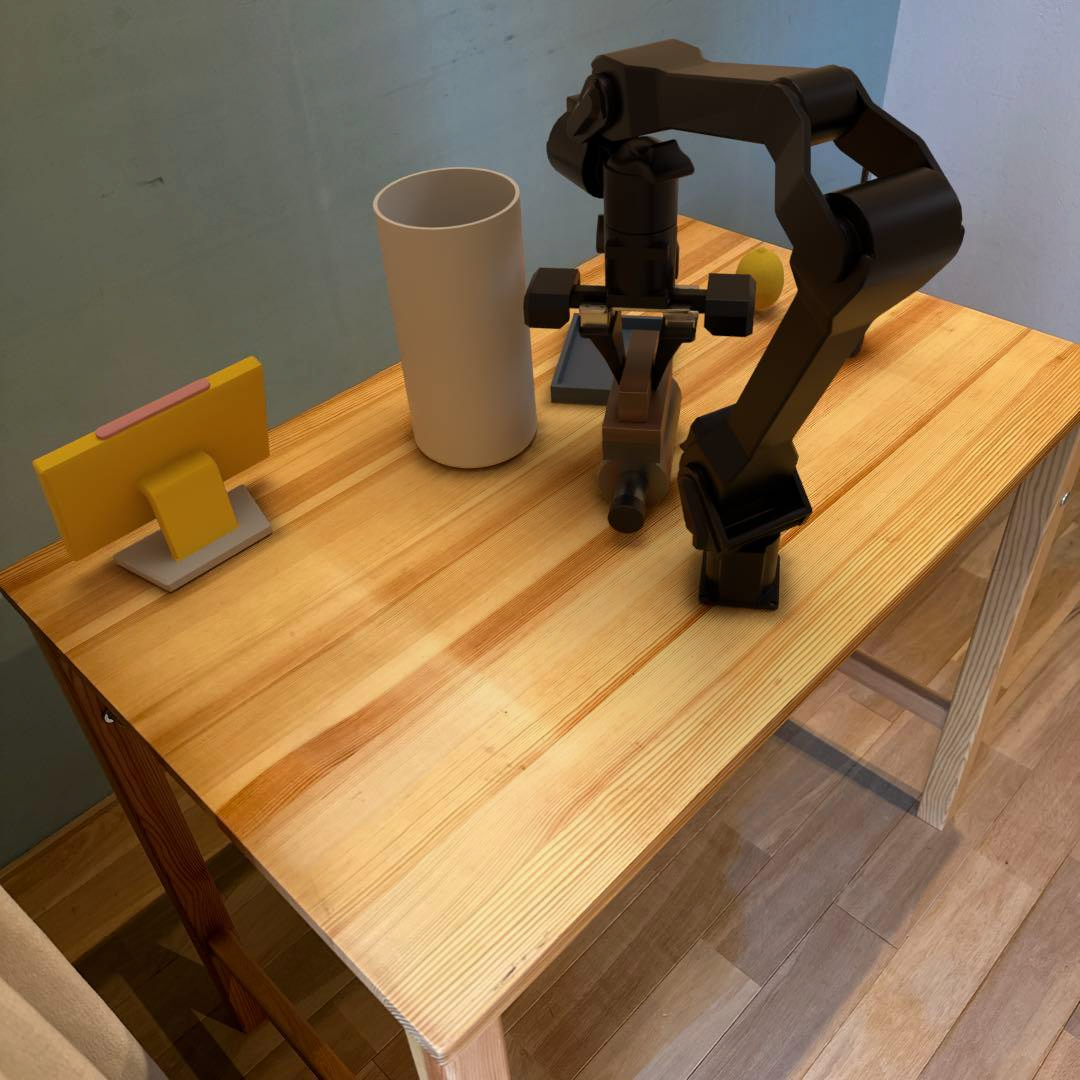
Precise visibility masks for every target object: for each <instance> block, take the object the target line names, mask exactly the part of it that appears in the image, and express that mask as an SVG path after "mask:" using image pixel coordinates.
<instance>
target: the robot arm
mask: <svg viewBox="0 0 1080 1080" xmlns="http://www.w3.org/2000/svg"><path fill="white" fill-rule="evenodd" d="M590 66H591V67H590V68H591V69H592V70H591V74H589V75H588V76H587V77H586V79H585V80H584V83H583V86H582V88H581V90H580V93H577V94H572V95H569V96H567V97H566V99H565V103H566V111H565V112H564V113H563V114H562V115H560V116H559V117H558V118H557V120H556V121H555V122H554V124H553V125H552V128H551V130H550V132H549V134H548V135H549V136H548V140H547V141H546V145H545V147H546V149H545V150H546V156H547V160H548V162H549V164H550V166H551V167H552V168H553V170H555V171H556V172H557V173H558V174H559V175H561V176H563V177H564V178H566V179H567V180H568V181H570V182H571V183H573V184H574V185H575V186H576V187H578V188H579V189H581V190H583V191H584V192H585V193H586V194H588V195H590V196H591V197H593V198H596V199H601V200H603V213H599V214H597V222H596V232H595V233H596V234H595V252H596V253H597V254H604V285H599V284H598V285H597V284H596V285H595V284H581V272H580V270H579V268H570V267H569V268H567V267H538V269H536V271H535V272H534V273H533V274H532V276H531V279H530V281H529V283H528V285H527V291H526V294H525V296H524V304H523V311H524V324H525V325H526V326H528V327H529V328H530V329H546V330H561V329H562V328H563V327H565V325H566V324H568V323H569V322H570V321H571V309H573V310H578V313H580V315H581V323H580V326H579V330H578V333H579V336H580V337H581V338H588V339H590V340H591V341H592V343H593V344H594V345H595V347H596V348H597V349H598V351H599V352H600V353H601V355H602V356H603V358H604V359H605V361H606V362H607V364H608V366H609V368H610V370H611V372H612V373H613V375H614V377H615V379H616V381H617V383H618V385H619V387H620V382H621V378H622V373H623V369H624V364H625V360H626V357H625V349H624V341H623V332H622V321H621V315H622V312H639V313H662V317H663V318H662V323H661V329H660V334H659V340H658V345H657V351H656V357H655V362H654V368H653V373H652V391H656V390H657V388H658V386H659V383H660V381H661V379H662V377H663V374H664V372H665V370H666V368H667V366H668V364H669V362H670V360H671V359H672V357H673V358H674V356H675V354H676V353H677V351H678V350H679V349H680V347H681V345H682V344H691V343H693V342H694V341H695V340H696V335H697V329H698V328H697V327H698V323H699V322H698V321H699V318H700V315H704V316H703V328H704V329H705V330H706V331H707V332H708V333H709V334H710V335H711V336H712V337H727V338H728V337H730V338H747V337H749V336H752V335H753V333H754V323H755V314H756V312H755V299H756V281H755V280H754V279H753V277H752V276H751V275H750V274H736V273H719V272H717V273H716V272H709V273H708V278H707V285H706V288H700V285H697V284H676V280H678V279H679V278H678V277H679V274H680V273H679V270H680V244H679V241H678V232H679V231H678V230H679V226H678V213H679V211H678V209H679V181H680V179H682V178H685V177H688V176H692V175H694V173H695V169H696V168H695V166H694V164H693V162H692V160H691V158H690V156H689V155H687V154H686V153H685V152H684V151H683V150H682V149H681V147H680V145H679V143H678V140H677V139H676V138H672V139H668V140H664V141H663V140H661V139H659V138H657V137H655V136H652V134H657V133H661V132H665V131H670V130H673V131H680V132H685V133H691V134H696V135H697V134H698V135H702V136H708V137H709V136H710V137H716V138H722V139H727V140H728V139H729V140H733V141H739V142H740V141H741V142H747V143H751V144H758V145H764V147H765V149H766V151H767V152H768V154H769V155H770V158H771V160H772V161H773V163H774V213H775V217H776V220H777V221H778V222H779V225H780V226H781V228H782V230H783V231H784V233H785V235H786V237H787V239H788V241H789V242H790V244H791V246H792V250H791V254H790V257H789V261H788V264H789V267H790V270H791V273H792V277H793V279H794V282H795V286H796V289H797V291H796V293H795V296H794V297H793V299H792V301H791V303H790V305H789V306H788V308H787V310H786V312H785V313H784V316H783V317H782V320H781V321H780V323H779V324H778V327H777V328H776V330H775V332H774V334H773V335H772V337H771V339H770V341H769V343H768V345H767V346H766V348H765V350H764V352H763V353H762V355H761V357H760V359H759V361H758V363H757V364H756V366H755V368H754V370H753V371H752V373H751V375H750V376H749V379H748V380H747V382H746V384H745V386H744V388H743V390H742V391H741V393H740V395H739V397H738V399H736V401H735V403H733V404H729V405H727V406H725V407H721V408H719V409H716V410H713V411H710V412H708V413H705V414H703V415H699V416H697V417H696V418H695V419H694V421H692V423H691V424H690V426H689V429H688V434H687V436H686V438H685V440H684V441H683V442H681V443H679V444H678V446H679V449H680V450H681V451H683V452H682V453H681V456H680V458H679V462H678V471H677V477H676V481H677V487H678V493H679V499H680V504H681V510H682V516H683V521H684V524H685V528H686V530H688V532H689V533H690V534H691V535H692V539H691V542H692V543H691V545H692V546H693V548H695V550H698V551H702V557H701V558H702V559H701V565H700V566H701V567H700V577H699V586H698V596H697V598H698V599H697V600H698V603H699V604H701V605H707V606H718V607H729V608H738V609H739V608H740V609H750V610H761V611H777V610H779V607H780V581H781V580H780V579H781V578H780V577H781V556H780V555H779V550H780V544H781V543H780V542H781V536H782V533H784V532H786V531H789V530H790V529H793V528H795V527H801V526H803V525H805V524H806V523H807V522H808V520H809V519H810V517H811V516H812V514H813V512H814V511H813V507H812V504H811V502H810V499H809V497H808V494H807V492H806V489H805V487H804V484H803V481H802V479H801V477H800V474H799V472H798V469H797V464H798V461H799V458H800V455H799V452H798V451H797V448H796V446H795V444H794V441H793V440H794V438H795V437H796V435H797V434H798V432H799V431H800V429H801V427H803V425H804V423H805V422H806V421H807V419H808V417H809V416H810V414H811V413H812V411H813V410H814V409H815V407H816V406H817V404H818V403H819V402H820V400H821V399H822V397H823V396H824V394H825V393H826V392H827V390H828V388H829V387H830V386H831V384H832V382H833V381H834V379H835V378H836V376H837V375H838V374H839V372H840V371H841V369H842V368H843V367H844V365H845V363H846V362H847V360H848V359H849V358H848V357H849V356H850V354H851V353H852V352H853V350H854V349H855V347H856V346H857V344H858V343H859V341H860V340H861V338H862V337H863V335H864V334H865V335H866V333H867V331H868V330H869V329H870V327H871V325H872V324H873V322H874V321H875V320H876V319H878V318H879V317H880V316H882V315H883V314H885V313H887V312H888V311H890V310H891V309H892V308H894V307H895V306H897V305H898V304H900V303H901V302H903V301H905V300H906V299H907V298H909V297H911V296H912V295H913V294H915V293H916V292H918V291H919V290H921V289H922V288H923V287H924V286H925V285H926V284H927V283H929V282H930V281H931V280H932V279H933V278H934V277H935V276H936V275H938V274H939V273H940V272H941V271H942V270H943V269H944V268H945V267H946V266H947V265H948V264H950V262H952V260H954V258H955V257H956V256H957V255H958V253H959V250H960V249H961V247H962V244H963V242H964V237H965V235H966V234H965V233H966V228H965V226H964V225H963V209H962V207H963V206H962V204H961V202H960V199H959V197H958V194H957V192H956V191H955V190H954V188H953V186H952V184H951V182H950V181H949V179H948V178H947V176H946V174H945V172H944V171H943V169H942V168H941V166H940V164H939V163H938V161H937V160H936V158H935V156H934V154H933V153H932V151H931V150H930V148H929V146H928V145H927V143H926V141H925V140H924V138H922V137H921V136H920V135H919V134H917V133H916V132H915V131H913V130H912V129H911V128H909V127H908V126H906V125H905V124H904V123H902V122H901V121H899V119H897V118H896V117H894V116H893V115H892V114H890V113H889V112H887V111H886V110H884V108H882V107H880V106H879V105H878V104H877V103H875V102H874V101H873V99H872V98H871V96H870V94H869V93H868V91H867V89H866V88H865V86H864V85H863V83H862V81H861V79H860V78H859V76H858V75H857V73H855V72H854V71H853V69H851V68H848V67H846V66H839V65H837V64H826V65H823V66H819V67H804V66H788V65H786V66H785V65H772V64H755V63H739V62H737V63H736V62H725V61H724V62H721V61H711V60H708V59H707V58H704V53H703V50H701V49H700V48H699V47H698V46H696V45H692V44H690V43H687V42H684V41H682V40H679V39H676V38H668V39H664V40H659V41H655V42H650V43H646V44H641V45H637V46H633V47H628V48H625V49H620V50H616V51H611V52H606V53H601V54H598V55H596V56H595V57H594V58H593V59H592V60H591V62H590ZM828 142H833V144H834V146H835V147H836V148H837V149H838V150H839V151H840V152H841V153H843V154H844V155H846V156H847V157H848V158H849V159H850V160H852V161H853V162H855V163H856V164H858V165H859V166H861V167H862V168H865V169H866V170H868V171H869V174H871V175H873V176H874V177H876V178H873V179H870V180H869V179H868V181H866V182H863V183H860V182H859V183H856V184H853V185H849V186H846V187H843V188H840V189H837V190H833V191H830V192H826V193H824V194H823V192H822V190H821V188H820V187H819V185H818V183H817V181H816V179H815V178H814V177H813V174H812V147H814V146H818V145H822V144H825V143H828Z"/></svg>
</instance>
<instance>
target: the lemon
mask: <svg viewBox="0 0 1080 1080" xmlns="http://www.w3.org/2000/svg"><path fill="white" fill-rule="evenodd" d="M736 267H737V268H736V270H735V274H750V275H751V276H752V277H753V279H754V280H755V281H756V299H755V313H759V312H761V311H764V310H766V309H769V308H770V307H772V306H773V305H774V304H775V303H776V302H777V301H778V300H779V299H780V296H781V295H782V292H783V290H784V286H785V271H784V265H783V262H782V260H781V259H780V256H778V254H777V253H775V251H772V250H771V249H768V248H767V247H765V246H760V247H757V248H754V249H752V250H750V251H749V252H747V253H746V254H744V255H743V256H742V258H741V259H740V260H739V262H738V264H737V266H736Z"/></svg>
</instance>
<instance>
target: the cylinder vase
mask: <svg viewBox="0 0 1080 1080" xmlns="http://www.w3.org/2000/svg"><path fill="white" fill-rule="evenodd" d="M372 204H373V205H372V207H373V212H374V218H375V223H376V229H377V235H378V241H379V246H380V247H379V248H380V252H381V258H382V264H383V269H384V274H385V280H386V285H387V286H386V287H387V291H388V296H389V302H390V307H391V314H392V319H393V326H394V330H395V331H394V332H395V336H396V340H397V342H396V343H397V347H398V353H399V358H400V365H401V370H402V375H403V381H404V387H405V392H406V397H407V404H408V408H409V414H410V421H411V424H412V425H411V426H412V431H413V437H414V440H415V443H416V445H417V447H418V449H419V450H420V452H422V453H423V454H424V455H425V456H427V458H429V459H430V460H432V461H434V462H435V463H439V464H441V465H444V466H448V467H453V468H457V469H458V468H459V469H479V468H480V469H481V468H487V467H491V466H495V465H498V464H501V463H503V462H506V461H509V460H511V459H512V458H515V457H516V456H517V455H519V454H521V453H522V452H524V450H525V449H527V447H528V446H529V445H530V444H531V442H532V441H533V439H534V437H535V434H536V432H537V428H538V417H537V404H536V403H537V402H536V391H535V390H536V389H535V380H534V379H535V378H534V365H533V364H534V363H533V352H532V351H533V350H532V338H531V337H532V336H531V328H529V327H528V326H526V325H525V324H524V311H523V304H524V296H525V294H526V291H527V288H528V285H527V273H526V272H527V271H526V259H525V258H526V257H525V246H524V233H523V232H524V231H523V219H522V206H521V205H522V204H521V194H520V187H519V185H518V183H517V182H516V181H515V180H514V179H513V178H511V177H510V176H508V175H506V174H503V173H501V172H498V171H495V170H492V169H487V168H482V167H481V168H480V167H468V166H460V167H459V166H458V167H457V166H453V167H452V166H451V167H442V168H434V169H429V170H424V171H420V172H419V171H418V172H415V173H411V174H409V175H406V176H403V177H401V178H399V179H397V180H394V181H392V182H391V183H389V184H387V185H386V186H385V187H383V188H382V189H381V190H380V191H379V192H378V193H377V194H376V195H375V196H374V198H373V202H372Z"/></svg>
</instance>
